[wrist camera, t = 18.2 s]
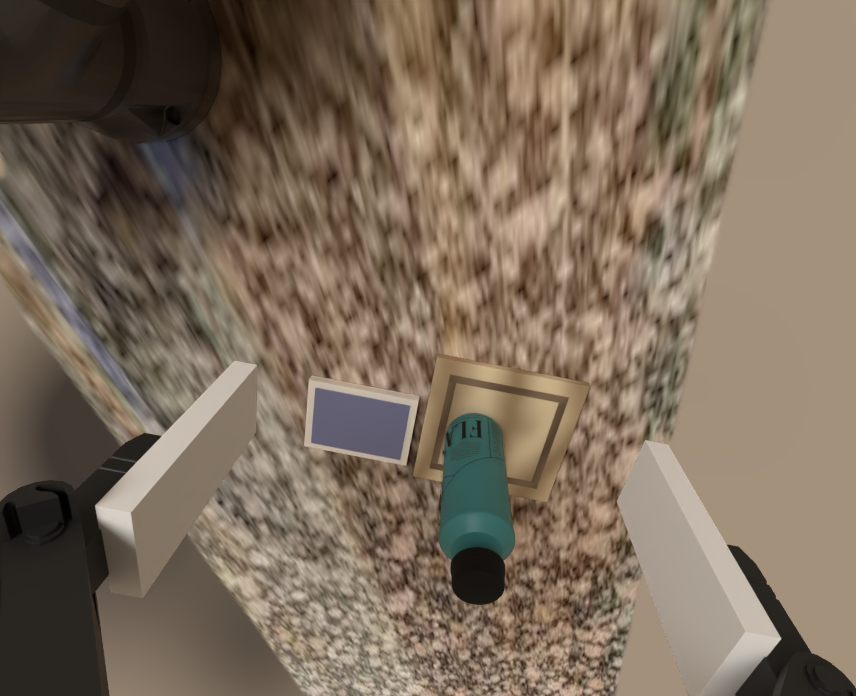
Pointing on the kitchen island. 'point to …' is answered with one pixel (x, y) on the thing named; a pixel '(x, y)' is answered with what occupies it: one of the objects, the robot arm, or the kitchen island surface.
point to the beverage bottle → (475, 508)
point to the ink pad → (359, 420)
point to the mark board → (504, 419)
